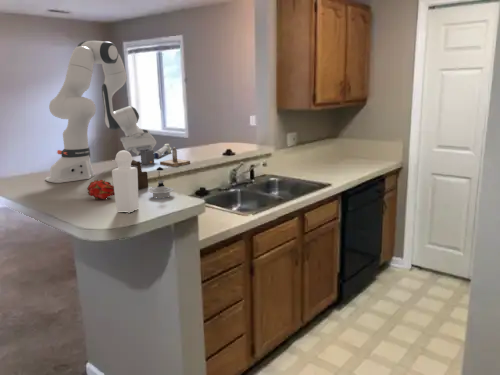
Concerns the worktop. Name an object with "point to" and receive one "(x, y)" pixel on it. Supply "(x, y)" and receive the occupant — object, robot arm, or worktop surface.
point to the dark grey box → (147, 157)
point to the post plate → (179, 162)
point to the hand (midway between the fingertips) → (146, 153)
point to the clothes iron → (141, 175)
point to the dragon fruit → (100, 189)
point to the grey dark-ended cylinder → (162, 151)
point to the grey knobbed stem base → (161, 188)
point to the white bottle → (125, 182)
